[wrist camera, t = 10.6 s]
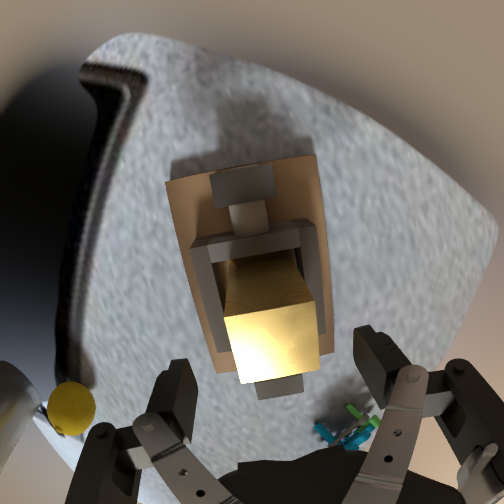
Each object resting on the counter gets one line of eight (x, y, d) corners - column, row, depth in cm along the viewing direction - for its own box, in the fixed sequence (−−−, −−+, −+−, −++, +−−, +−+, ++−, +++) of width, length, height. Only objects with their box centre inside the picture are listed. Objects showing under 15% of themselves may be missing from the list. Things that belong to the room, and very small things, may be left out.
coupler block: (240, 306, 23) (241, 383, 14) (230, 257, 21) (223, 317, 13) (292, 297, 23) (320, 369, 14) (285, 247, 21) (314, 300, 13)
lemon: (58, 368, 26) (28, 410, 18) (90, 368, 26) (61, 416, 18) (79, 401, 28) (56, 444, 20) (111, 402, 28) (90, 451, 20)
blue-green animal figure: (324, 464, 30) (306, 493, 22) (298, 437, 34) (272, 459, 25) (385, 414, 30) (386, 435, 21) (356, 387, 33) (349, 399, 25)
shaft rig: (217, 364, 26) (213, 407, 20) (169, 180, 21) (145, 185, 15) (330, 343, 26) (348, 383, 20) (310, 155, 21) (334, 151, 15)
